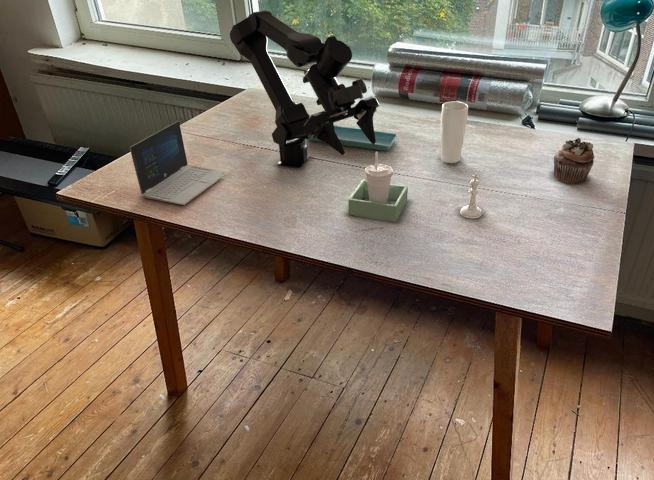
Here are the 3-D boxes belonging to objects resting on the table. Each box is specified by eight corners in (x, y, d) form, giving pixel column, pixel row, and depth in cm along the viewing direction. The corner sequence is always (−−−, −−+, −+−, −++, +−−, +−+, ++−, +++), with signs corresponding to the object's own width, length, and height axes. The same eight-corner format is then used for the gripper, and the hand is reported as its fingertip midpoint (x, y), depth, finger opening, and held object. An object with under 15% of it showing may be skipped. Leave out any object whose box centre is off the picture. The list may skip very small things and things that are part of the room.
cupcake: (595, 176, 145) (605, 139, 140) (578, 189, 140) (587, 151, 134) (561, 165, 151) (569, 129, 145) (543, 177, 145) (550, 140, 139)
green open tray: (348, 214, 130) (348, 199, 128) (362, 194, 138) (362, 179, 136) (395, 222, 127) (396, 206, 125) (407, 201, 135) (407, 186, 133)
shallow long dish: (398, 140, 165) (398, 132, 163) (389, 153, 158) (389, 144, 156) (314, 130, 171) (313, 122, 170) (302, 141, 164) (301, 133, 163)
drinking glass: (462, 166, 151) (467, 110, 142) (436, 164, 152) (440, 109, 143) (463, 155, 156) (469, 101, 147) (438, 153, 157) (443, 100, 148)
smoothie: (363, 201, 135) (363, 146, 127) (390, 200, 135) (391, 145, 127) (366, 215, 130) (365, 158, 122) (393, 214, 130) (395, 157, 122)
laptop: (184, 207, 133) (173, 155, 126) (141, 197, 137) (128, 147, 130) (227, 175, 147) (219, 127, 139) (187, 167, 151) (177, 120, 143)
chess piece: (476, 220, 128) (482, 180, 122) (456, 214, 130) (460, 175, 124) (485, 211, 131) (490, 171, 125) (465, 205, 133) (470, 166, 127)
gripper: (307, 77, 118) (343, 143, 117) (374, 60, 128) (407, 121, 127) (288, 105, 127) (321, 166, 127) (352, 87, 137) (382, 143, 137)
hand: (359, 148), depth 129 cm, fingers open, 9 cm apart
